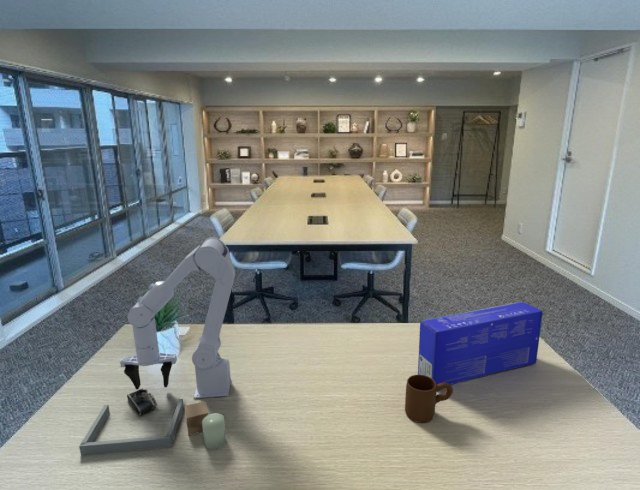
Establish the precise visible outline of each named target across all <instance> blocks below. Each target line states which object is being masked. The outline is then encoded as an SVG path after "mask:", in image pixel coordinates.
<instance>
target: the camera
mask: <svg viewBox="0 0 640 490" xmlns="http://www.w3.org/2000/svg"><path fill="white" fill-rule="evenodd" d="M126 395H127V396H126V397H127V401H128V402H130V401H131V402H132V406H133V407H132V408H133V410H134V411H135V413H136V414H137V416H139V417H141V416H142V415H145V414H146V413H147V414H148V413H149V412H151V411H153V410H155V408H156V407H157V406H158V402H157V400H156V398H155V397H154V396H153V394H152V393H151V392H148V389H147V388H145V389H144V388H139V389H137V390H136V391H133V392H131V393H128V394H126Z"/></svg>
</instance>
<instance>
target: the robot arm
mask: <svg viewBox="0 0 640 490" xmlns="http://www.w3.org/2000/svg"><path fill="white" fill-rule="evenodd" d="M201 269H202V270H203V271H205V272H207V274H209V275H210V276H212V278H213V279H214V280H215V282H214V286H213V291H212V294H211V298H210V301H209V307H208V310H207V315H206V318H205V320H204V321H205V322H204V326H203V330H202V332H201V333H202V334H201V335H200V337H199V338H198V342H197V345H196V348H195V350H194V352H192V356H191V361H192V364H193V365H194V370H195V371H194V372H195V382H196V388H195V392H194V394H193V398H194V399H201V398H202V399H203V398H213V397H214V398H215V397H227V396H229V393H230V388H231V384H232V377H231V367H230V364H231V363H230V360H229V359H226V358H222V357H221V354H220V353H219V349H220V347H221V344H222V342H221V338H220V337H221V336H220V335H221V331H222V330H221V329H222V326H223V323H224V319H225V314H226V311H227V308H228V304H229V300H230V296H231V292H232V288H233V286H234V281H235V277H236V269H235V267H234V263H233V261H232V258H231V256H230V250H229V247H228V246H227V245H226V244H225V243H224V241H222V240H221V239H220V238H219V237H215V236H214V237H208V238H206V239H205V240H204V241H203V242H202V244H199V245H198V246H196V247H195V248H194V249H193V250H192V251H190V252H189V253H188V254H187V255H186V256H185V258H184V259H183V260H181V262H180V263H179V264H178V266H176V267H175V269H174V270H173V271H172V272H171V273H170V275H169V276H167V278H166V279H165V280H160V281H159V280H158V281H156V282H155V283H151V284H150V285H149V286H148V287H147V289H148V291H146V293H145V294H144V295H143V296H139V298H138V299H137V300H136V303H135V304H134V305H133V307H131V308H130V310H129V311H128V313H127V321H128V323H129V324H130V325H131V326H132V332H133V333H132V334H133V338H134V346H135V352H136V353H135V355H131V356H124V357H122V358H121V359H120V361H119V364H120V365H119V366H120V368H124V370H123V373H124V374H125V375H126V376H127V377H128V378H129V380H130V381H131V382H132V384H133V386H134V389H135V390H136V391H138V390H140V387H141V386H142V385H141V377H140V368H139V367H148V366H153V365H159V364H162V365H161V367H160V372H161V374H162V378H163V388H168V386H169V381H170V375H171V374H170V373H171V370H172V367H173V365H175V364H176V363H177V361H178V358H177V354H176V353H165V352H160V349H159V347H160V346H159V341H158V331H157V326H156V319H155V316H156V315H157V313H159V312H160V311H161V310H162V309H163V308H164V307H165V306H166V305H167V304H168V302H169V301H170V300H171V299H172V298H173V297H174V296H175V291H174V289H175V288H176V287H177V286H178V285H179V284H180V283H181V282H182V281H183V280H184V279H185V278H186V277H187V276H189V274H190V273H191V272H200V271H201Z"/></svg>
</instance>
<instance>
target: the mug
mask: <svg viewBox="0 0 640 490" xmlns="http://www.w3.org/2000/svg"><path fill="white" fill-rule="evenodd" d="M442 390H446V391H445V392H444V393H438V394H437V392H440V391H442ZM453 393H454V388H453V386H452V384H451V385H450V384H448V383H444V382H443V383H440V384H437V385H436V382H435V381H434V380H433V379H432V378H430V377H428V376H425V375H418V374H414V375H410V376H409V377H408V378H407V380H406V385H405V399H404V400H405V402H404V404H405V405H404V412H405V414H406V416H407V417H408V418H409V419H410V420H412V421H413V422H416V423H421V424H422V423H423V424H425V423H429V422H431V421H432V420H433V419H434V417H435V415H436V414H435V412H436V405H437V404H438V403H441V402H444V401H447V400H449V399H450V398H451V397H452V396H453Z"/></svg>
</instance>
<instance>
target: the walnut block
mask: <svg viewBox="0 0 640 490" xmlns="http://www.w3.org/2000/svg"><path fill="white" fill-rule="evenodd" d="M184 409H185V418H186V420H185V421H186V427H187V436H192V435H195V434H199V433H203V426H202V421H203V419H204V418H205V417H206V416H208V415H209V412H208V408H207V403H206V400H203V401H199V402H194V403H192V404H191V403H190V404H187V405H184Z"/></svg>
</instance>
